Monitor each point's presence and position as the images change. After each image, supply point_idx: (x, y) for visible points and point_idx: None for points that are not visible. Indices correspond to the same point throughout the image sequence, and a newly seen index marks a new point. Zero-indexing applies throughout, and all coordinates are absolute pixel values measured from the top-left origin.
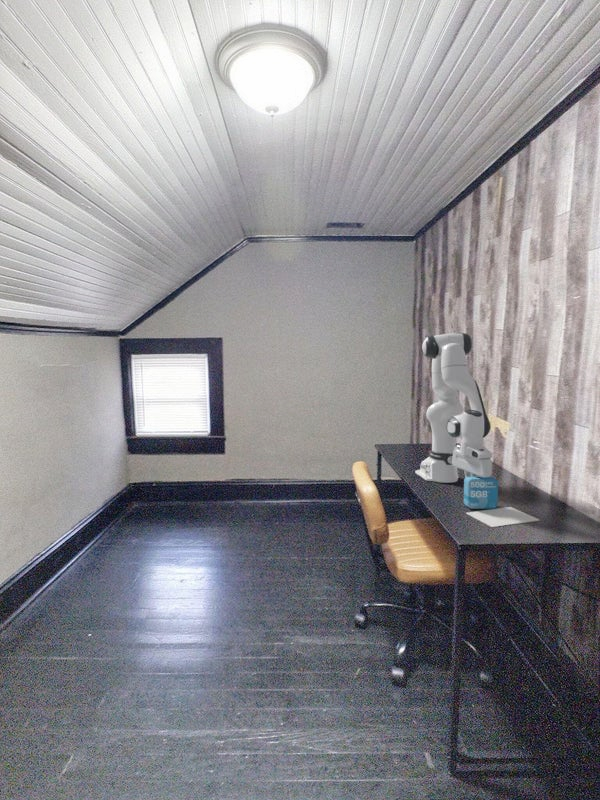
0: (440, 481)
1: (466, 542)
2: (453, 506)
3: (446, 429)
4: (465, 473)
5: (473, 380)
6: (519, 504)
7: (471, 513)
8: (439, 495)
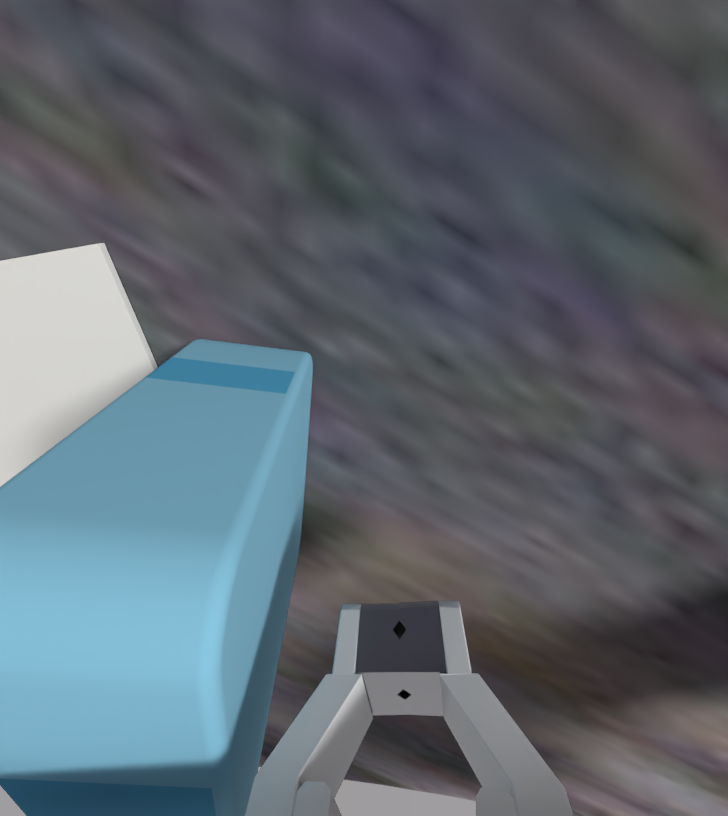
0: None
1: None
2: (306, 223)
3: None
4: (503, 770)
5: None
6: (309, 661)
7: (90, 293)
8: (685, 252)
